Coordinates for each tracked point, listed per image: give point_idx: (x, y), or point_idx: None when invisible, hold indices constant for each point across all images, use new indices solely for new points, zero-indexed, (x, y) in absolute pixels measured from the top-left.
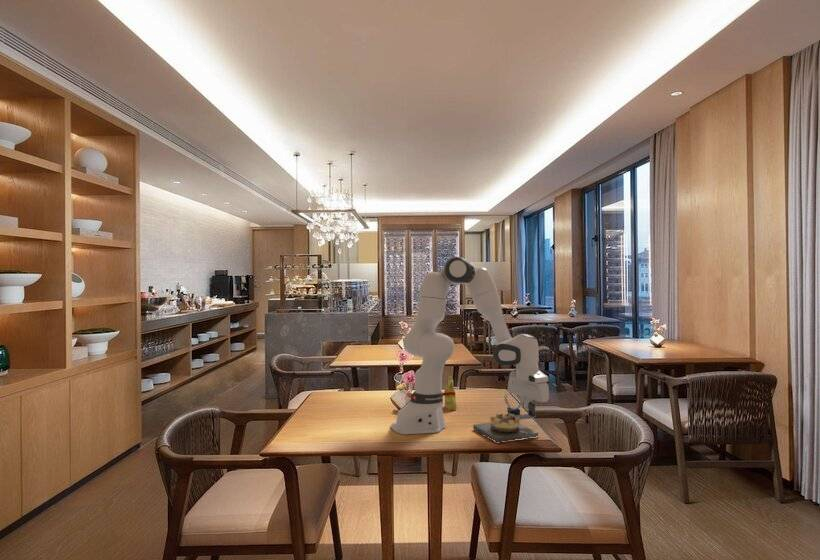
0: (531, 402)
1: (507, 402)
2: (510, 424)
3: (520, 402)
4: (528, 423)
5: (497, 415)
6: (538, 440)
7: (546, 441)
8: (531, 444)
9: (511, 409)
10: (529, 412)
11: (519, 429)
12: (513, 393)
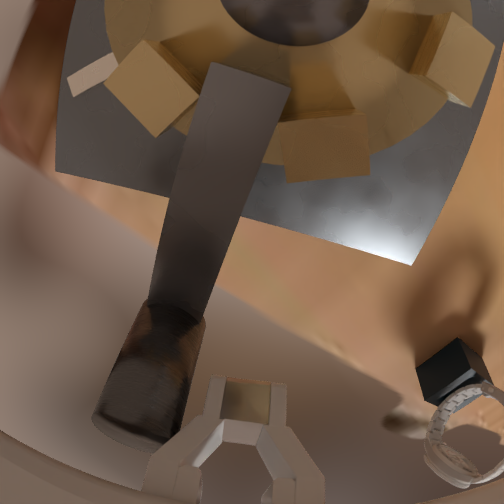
0: None
1: (501, 399)
2: None
3: (439, 439)
4: (325, 334)
5: (451, 17)
6: (45, 125)
7: (21, 155)
8: (23, 40)
9: (469, 380)
10: (159, 324)
11: None
12: (465, 496)
